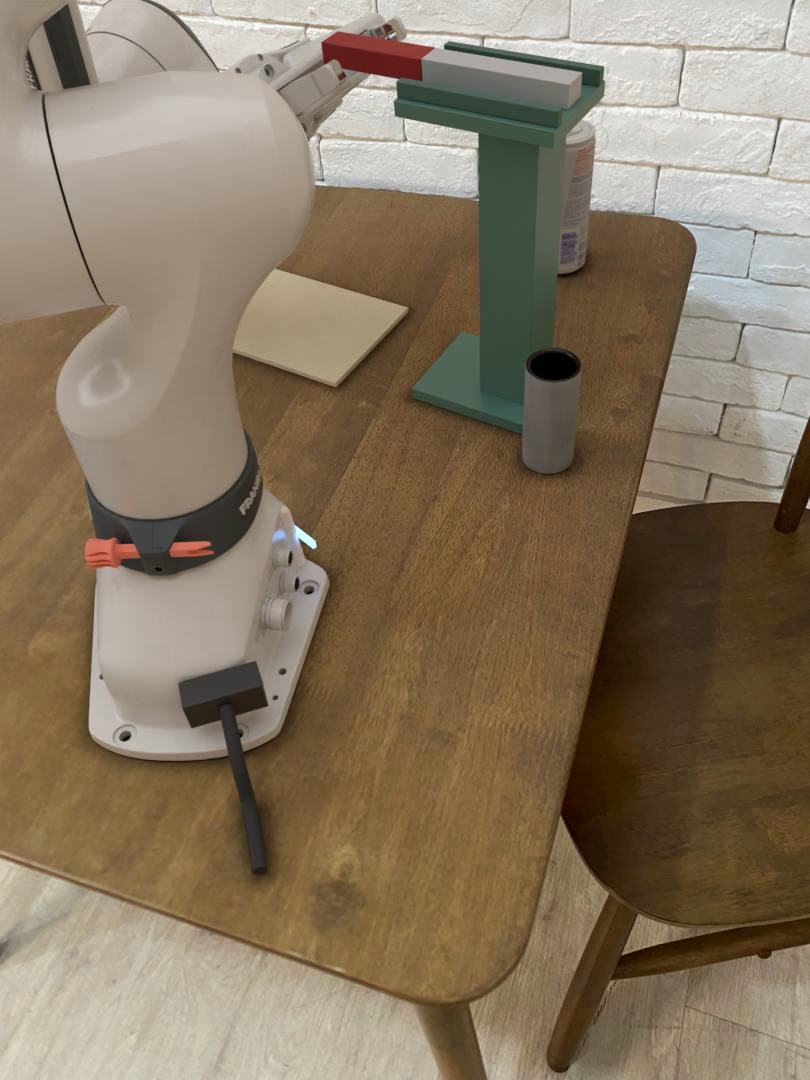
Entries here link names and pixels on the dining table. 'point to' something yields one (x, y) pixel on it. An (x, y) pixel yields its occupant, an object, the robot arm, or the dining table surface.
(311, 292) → the mat
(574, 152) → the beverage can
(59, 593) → the dining table surface
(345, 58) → the bar magnet
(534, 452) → the gray cylindrical cup
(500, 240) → the stand
